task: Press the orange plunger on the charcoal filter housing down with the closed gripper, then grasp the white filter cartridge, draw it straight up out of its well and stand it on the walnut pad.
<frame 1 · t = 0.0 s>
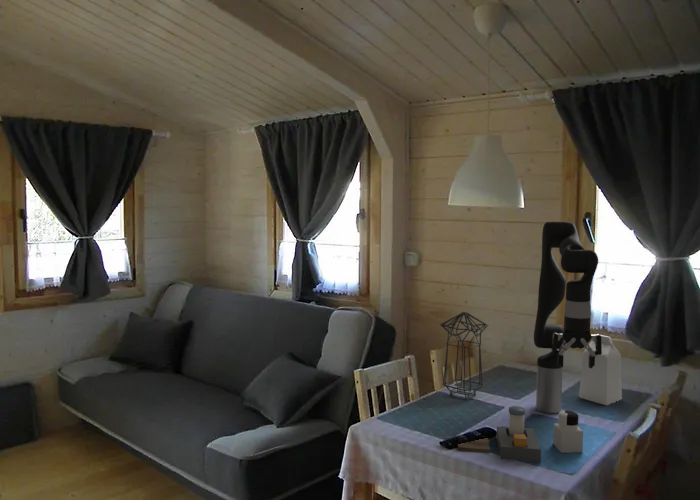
hand: (575, 367, 183), 29 cm above the table, tool pointing down, fingers open, 8 cm apart
walnut pad: (473, 445, 196), on the table
medicine bottle: (567, 448, 194), on the table
filter housing: (517, 449, 193), on the table
filter cartridge: (516, 444, 197), resting in filter housing
plunger: (519, 442, 187), point 5 cm above the table, slide at 0.0 cm
geometric lantern: (463, 395, 246), on the table
milk: (600, 398, 242), on the table
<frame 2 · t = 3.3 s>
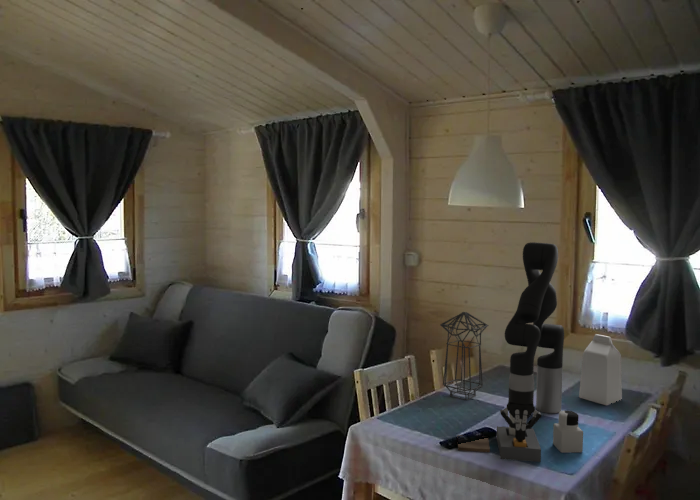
hand: (519, 440, 187), 5 cm above the table, tool pointing down, fingers closed
plunger: (519, 446, 187), point 3 cm above the table, slide at 1.4 cm, touching gripper
everything else where it was.
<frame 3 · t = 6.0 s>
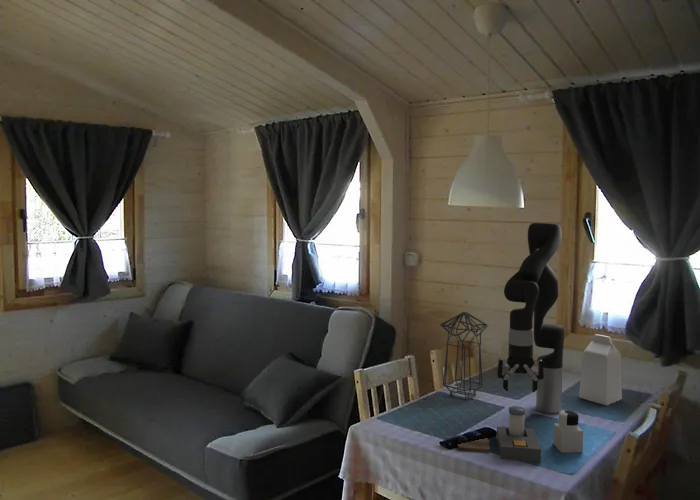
hand: (519, 390, 193), 19 cm above the table, tool pointing down, fingers open, 8 cm apart
plunger: (519, 449, 187), point 2 cm above the table, slide at 2.1 cm
everything else where it was.
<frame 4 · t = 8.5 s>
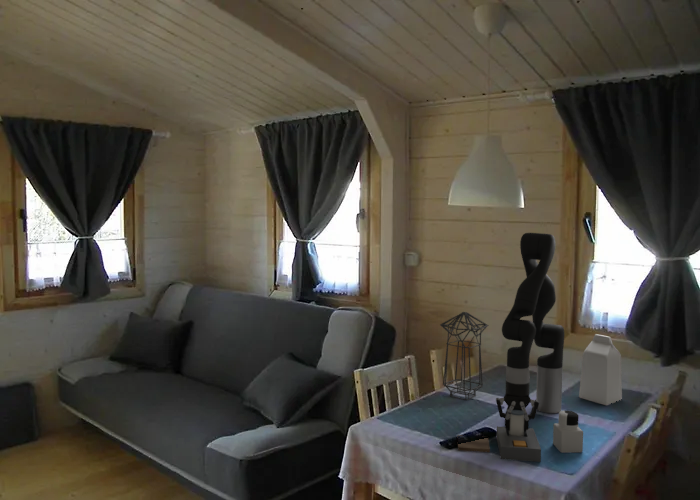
hand: (516, 429, 196), 5 cm above the table, tool pointing down, fingers closed on filter cartridge, 4 cm apart
filter cartridge: (516, 444, 197), resting in filter housing, touching gripper
everything else where it was.
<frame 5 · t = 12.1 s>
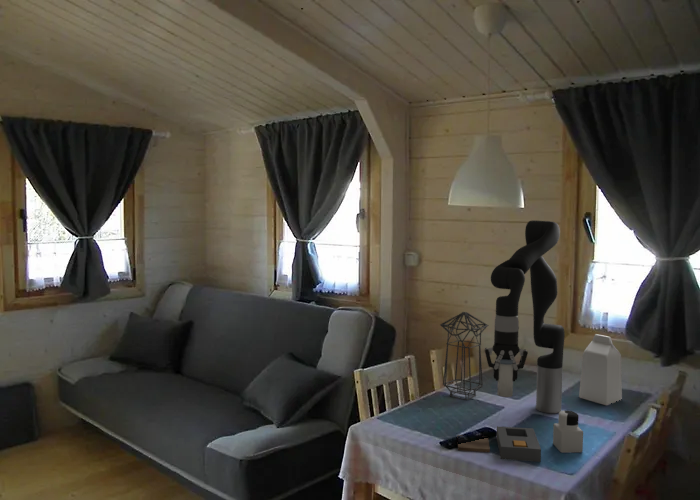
hand: (505, 380, 194), 22 cm above the table, tool pointing down, fingers closed on filter cartridge, 4 cm apart
filter cartridge: (504, 394, 194), point 17 cm above the table, touching gripper
everything else where it was.
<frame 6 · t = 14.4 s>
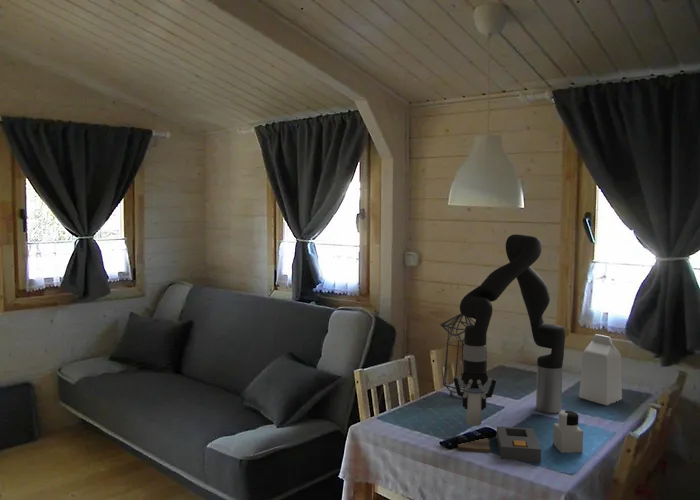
hand: (474, 408, 195), 12 cm above the table, tool pointing down, fingers closed on filter cartridge, 4 cm apart
filter cartridge: (473, 423, 195), point 7 cm above the table, touching gripper
everything else where it was.
when the fingers open (7 cm above the table, at t = 15.9 s): filter cartridge stays where it is, resting on walnut pad.
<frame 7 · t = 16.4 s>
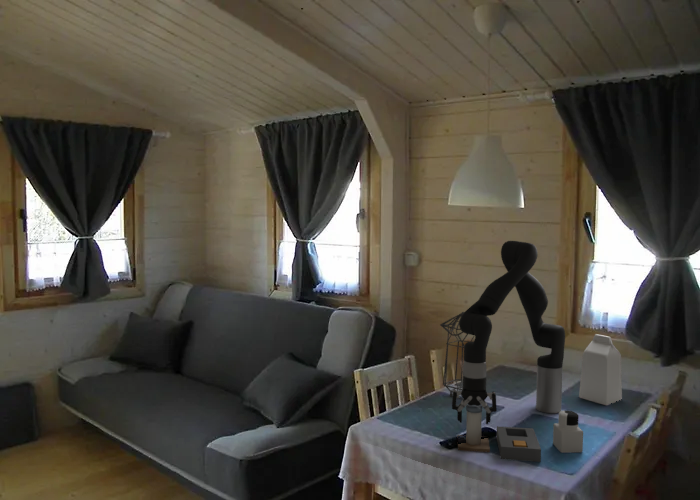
hand: (473, 422, 195), 8 cm above the table, tool pointing down, fingers open, 8 cm apart
filter cartridge: (473, 442, 196), point 1 cm above the table, touching walnut pad
everything else where it was.
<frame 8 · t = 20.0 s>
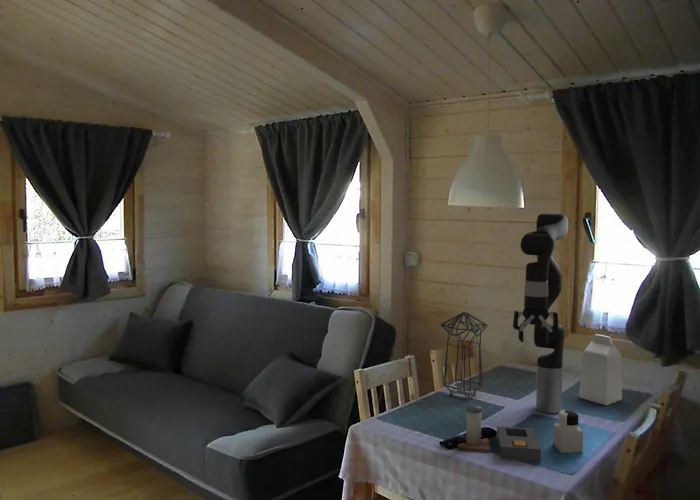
hand: (534, 342, 199), 33 cm above the table, tool pointing down, fingers open, 8 cm apart
nothing on the table moved.
at the end: plunger slide at 2.1 cm; filter cartridge inside the target area on the walnut pad (0.1 cm from its centre), point 1.0 cm above the walnut pad's base; filter cartridge tilted 1° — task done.
